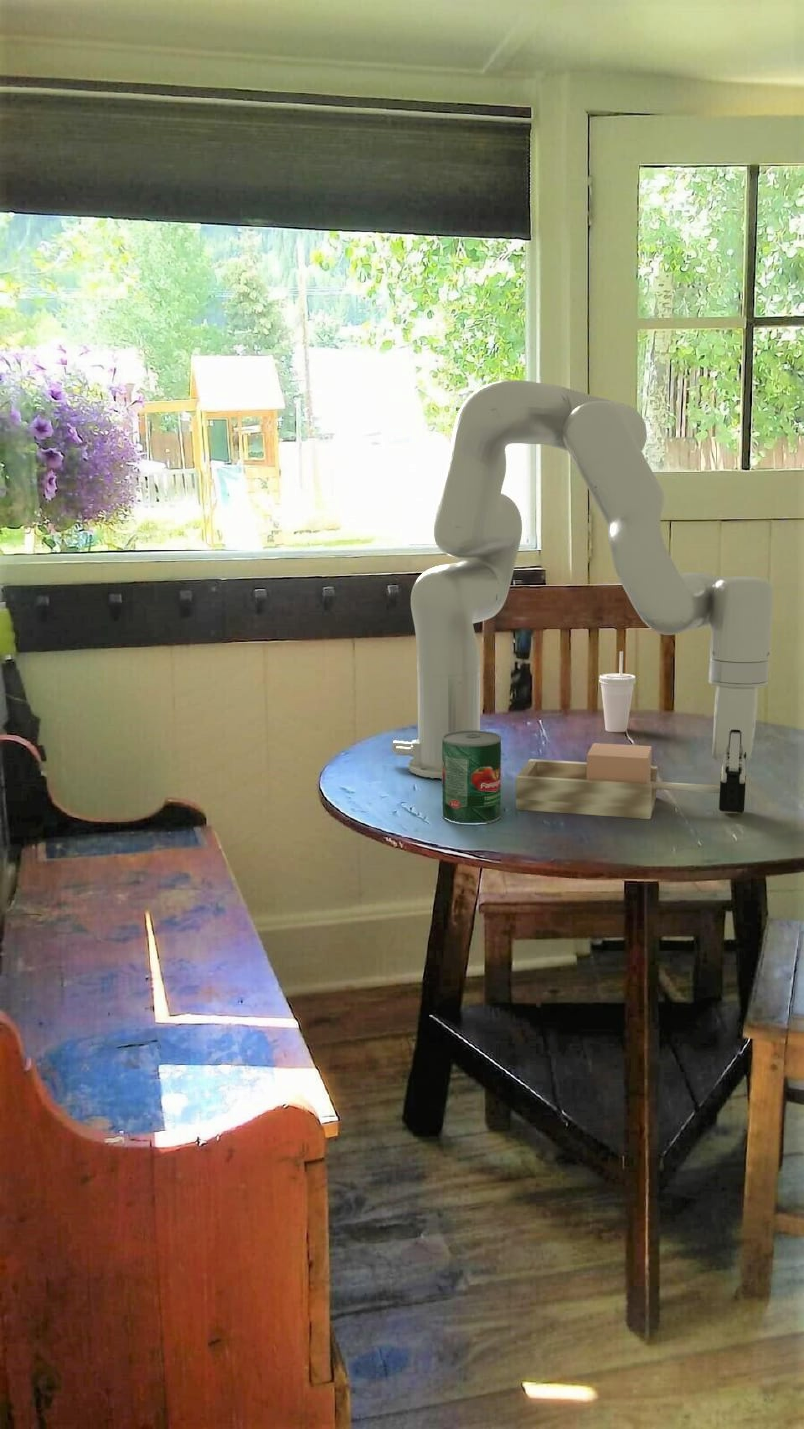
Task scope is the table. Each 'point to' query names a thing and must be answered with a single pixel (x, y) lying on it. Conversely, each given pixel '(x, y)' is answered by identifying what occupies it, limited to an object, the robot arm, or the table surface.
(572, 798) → the wooden tray
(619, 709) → the smoothie
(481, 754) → the canned tomato
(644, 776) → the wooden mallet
